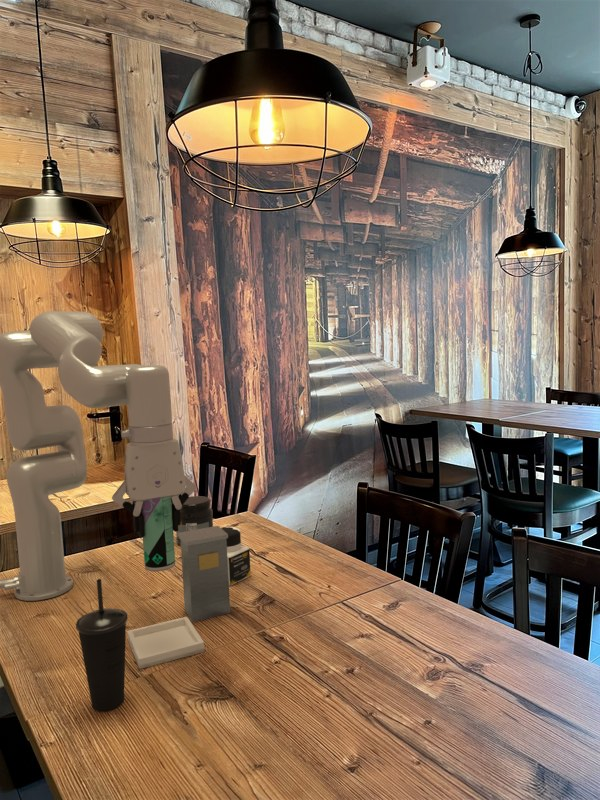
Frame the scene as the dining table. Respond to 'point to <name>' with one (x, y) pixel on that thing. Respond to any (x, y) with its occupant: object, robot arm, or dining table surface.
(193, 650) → the dish
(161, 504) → the spray can
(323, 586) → the dining table surface
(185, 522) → the supplement container
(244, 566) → the medicine bottle
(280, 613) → the dining table surface
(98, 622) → the drinking cup
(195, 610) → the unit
